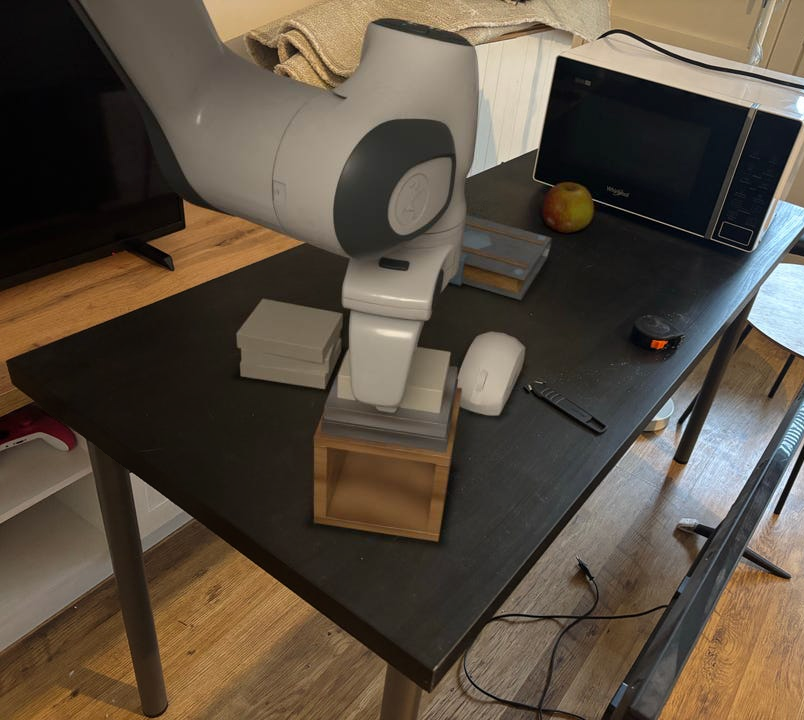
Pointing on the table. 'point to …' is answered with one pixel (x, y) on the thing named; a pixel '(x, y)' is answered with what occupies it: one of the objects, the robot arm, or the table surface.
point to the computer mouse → (490, 372)
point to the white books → (290, 344)
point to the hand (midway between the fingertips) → (394, 381)
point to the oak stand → (384, 465)
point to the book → (500, 257)
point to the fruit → (568, 207)
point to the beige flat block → (412, 380)
